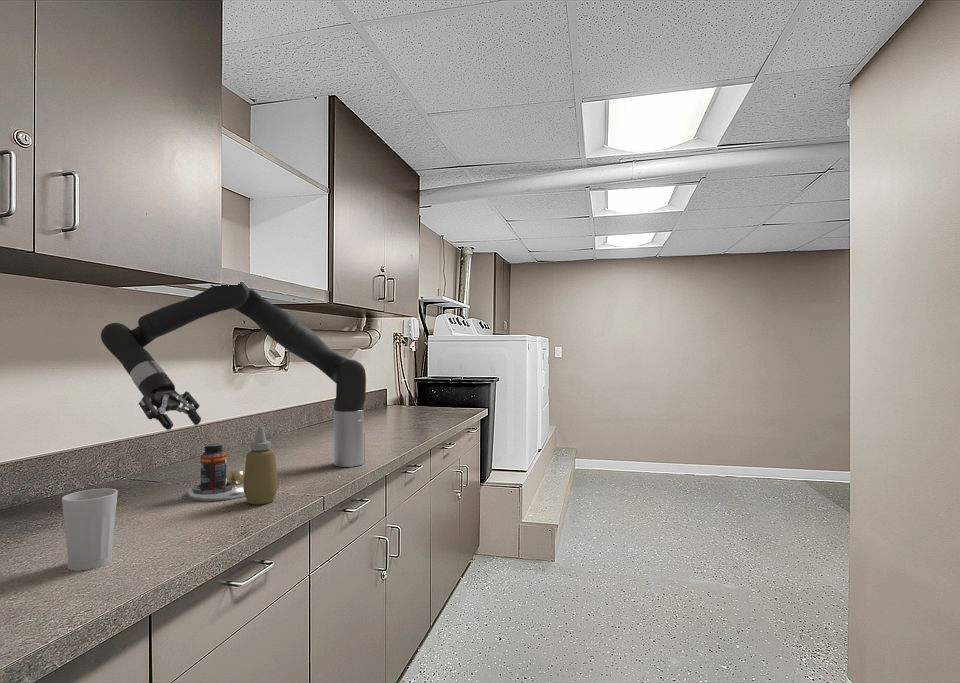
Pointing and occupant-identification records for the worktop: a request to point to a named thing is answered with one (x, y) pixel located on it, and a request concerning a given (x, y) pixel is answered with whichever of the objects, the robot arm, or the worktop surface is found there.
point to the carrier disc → (221, 489)
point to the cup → (89, 527)
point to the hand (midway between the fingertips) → (185, 425)
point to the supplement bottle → (213, 467)
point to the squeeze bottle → (260, 471)
